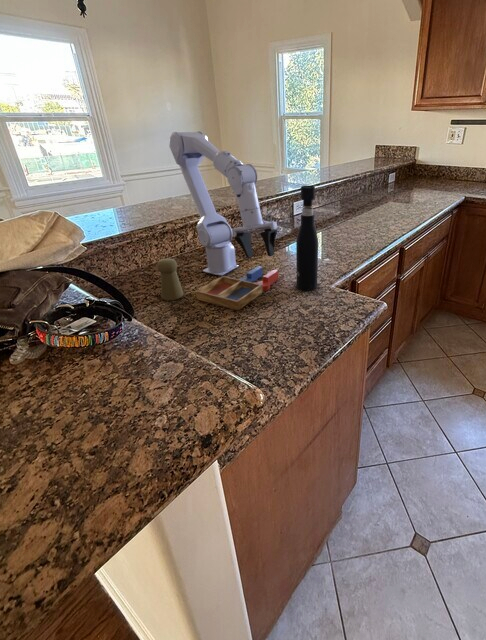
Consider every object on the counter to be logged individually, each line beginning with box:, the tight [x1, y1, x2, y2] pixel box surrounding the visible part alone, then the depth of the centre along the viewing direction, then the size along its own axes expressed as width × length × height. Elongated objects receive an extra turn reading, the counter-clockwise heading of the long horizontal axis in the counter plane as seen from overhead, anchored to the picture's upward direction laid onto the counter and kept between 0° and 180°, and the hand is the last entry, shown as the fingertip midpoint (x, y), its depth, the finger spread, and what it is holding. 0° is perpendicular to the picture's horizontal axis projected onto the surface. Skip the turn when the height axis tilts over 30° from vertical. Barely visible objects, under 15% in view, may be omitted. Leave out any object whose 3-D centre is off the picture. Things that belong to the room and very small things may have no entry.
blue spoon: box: [238, 265, 264, 283], centre depth 111 cm, size 10×4×3 cm, turn 154°
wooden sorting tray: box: [195, 275, 264, 311], centre depth 102 cm, size 12×14×3 cm
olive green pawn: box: [156, 258, 184, 301], centre depth 100 cm, size 6×6×11 cm
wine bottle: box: [295, 185, 319, 292], centre depth 102 cm, size 6×6×30 cm
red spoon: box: [255, 269, 279, 292], centre depth 109 cm, size 10×4×3 cm, turn 155°
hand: (260, 256), depth 103 cm, fingers open, 7 cm apart
